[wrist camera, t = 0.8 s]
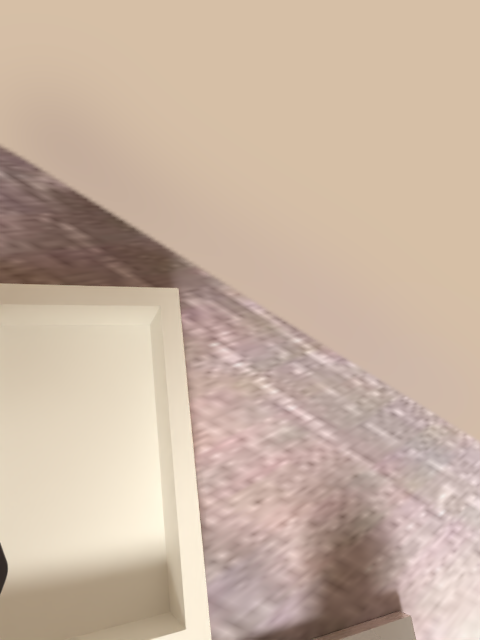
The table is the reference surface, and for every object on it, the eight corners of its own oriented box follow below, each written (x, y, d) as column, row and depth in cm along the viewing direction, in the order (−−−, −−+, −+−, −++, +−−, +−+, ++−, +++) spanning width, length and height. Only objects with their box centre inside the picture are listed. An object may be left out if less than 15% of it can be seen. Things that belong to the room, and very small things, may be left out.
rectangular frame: (189, 627, 21) (212, 651, 18) (-195, 735, 15) (-257, 795, 12) (164, 311, 26) (178, 288, 23) (-134, 310, 20) (-168, 278, 17)
